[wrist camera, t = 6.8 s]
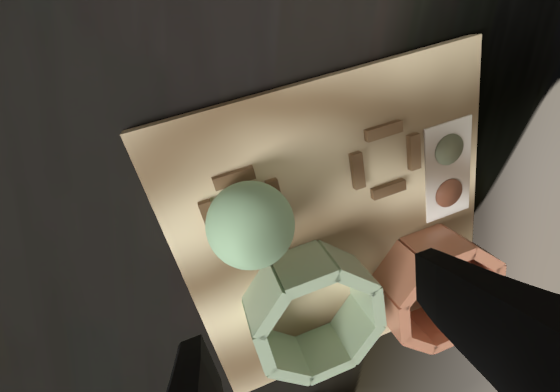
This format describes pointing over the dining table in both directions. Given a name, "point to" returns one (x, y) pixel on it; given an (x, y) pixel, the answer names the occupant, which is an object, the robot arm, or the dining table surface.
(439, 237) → the terracotta tube
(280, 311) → the green octagonal ring
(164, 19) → the dining table surface
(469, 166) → the board
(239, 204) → the sage ball
